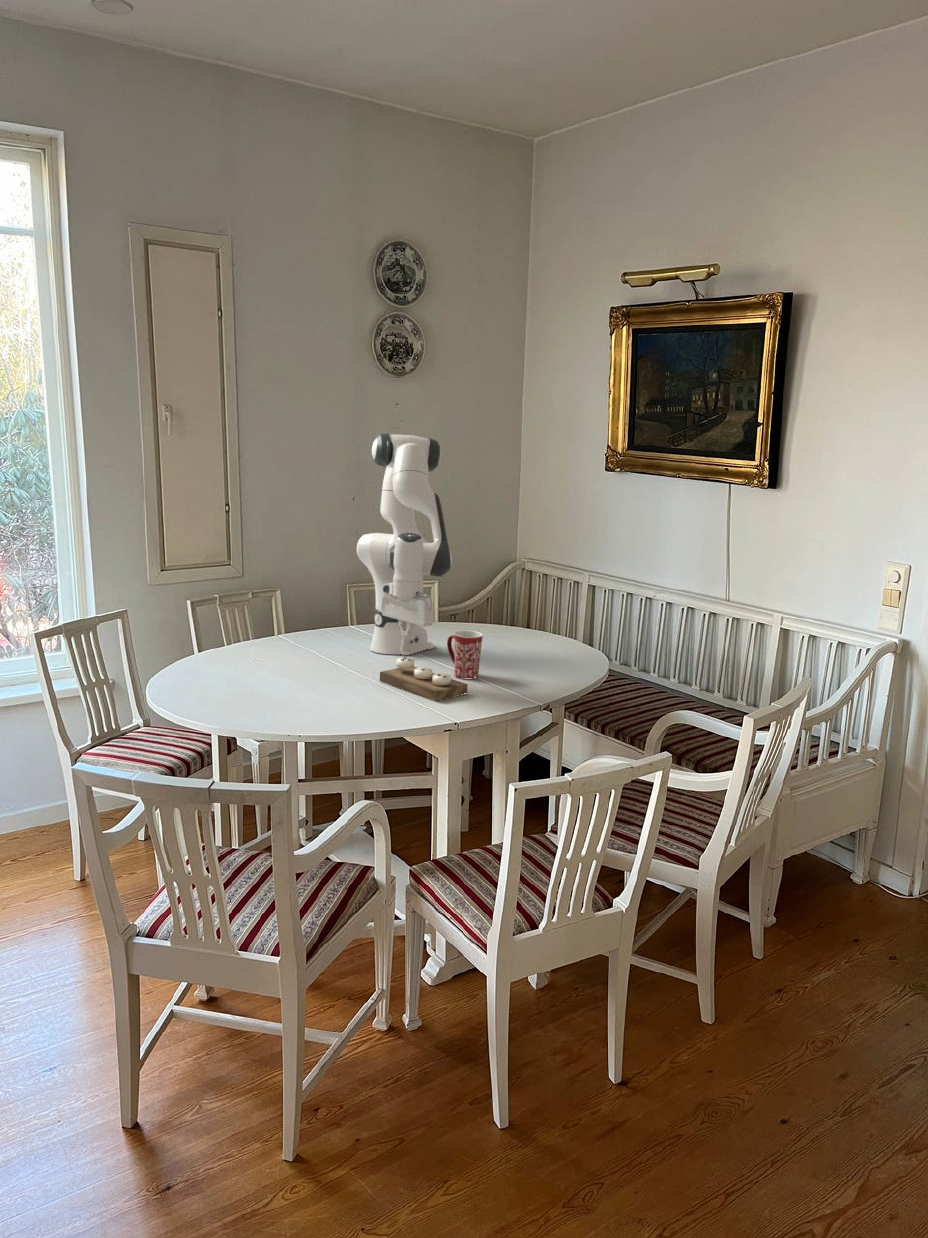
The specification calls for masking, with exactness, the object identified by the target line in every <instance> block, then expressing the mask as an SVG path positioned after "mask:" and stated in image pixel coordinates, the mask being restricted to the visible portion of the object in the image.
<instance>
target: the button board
mask: <svg viewBox="0 0 928 1238" xmlns="http://www.w3.org/2000/svg"><path fill="white" fill-rule="evenodd" d="M416 668H418V667H417V666H414V667H413V668H399V667H396V668H392V669H388V670H387V669H386V670H382V671H380V672H379V682H380V681H381V682H380V683H382V682H384V683H383V684H385V683H387V684H386V685H388V684H389V686H391V685H392V686H391V687H393V686H394V687H393V688H396V687H397V688H396V689H399V688H400V689H399V690H402V689H403V691H405V692H407V691H408V693H410V692H411V693H410V694H414V695H416V696H418V695H419V697H421V696H422V697H421V698H423V699H427V700H429V699H430V701H432V700H433V701H432V702H435V701H436V703H438V702H441V701H440V700H442V701H445V700H444V699H446V700H448V699H447V698H450V699H452V698H451V697H454V696H457V695H461V694H464V693H467V694H468V685H469V684H468V683H465V682H462V681H458V680H456V679H454V678H451V684H449V685H435V684H433V683H432V680H433V675H434V674H436V673H435V672H432V678H429V679H418V678H415V677H414V669H416ZM454 698H455V697H454ZM437 701H438V702H437Z"/></svg>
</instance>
